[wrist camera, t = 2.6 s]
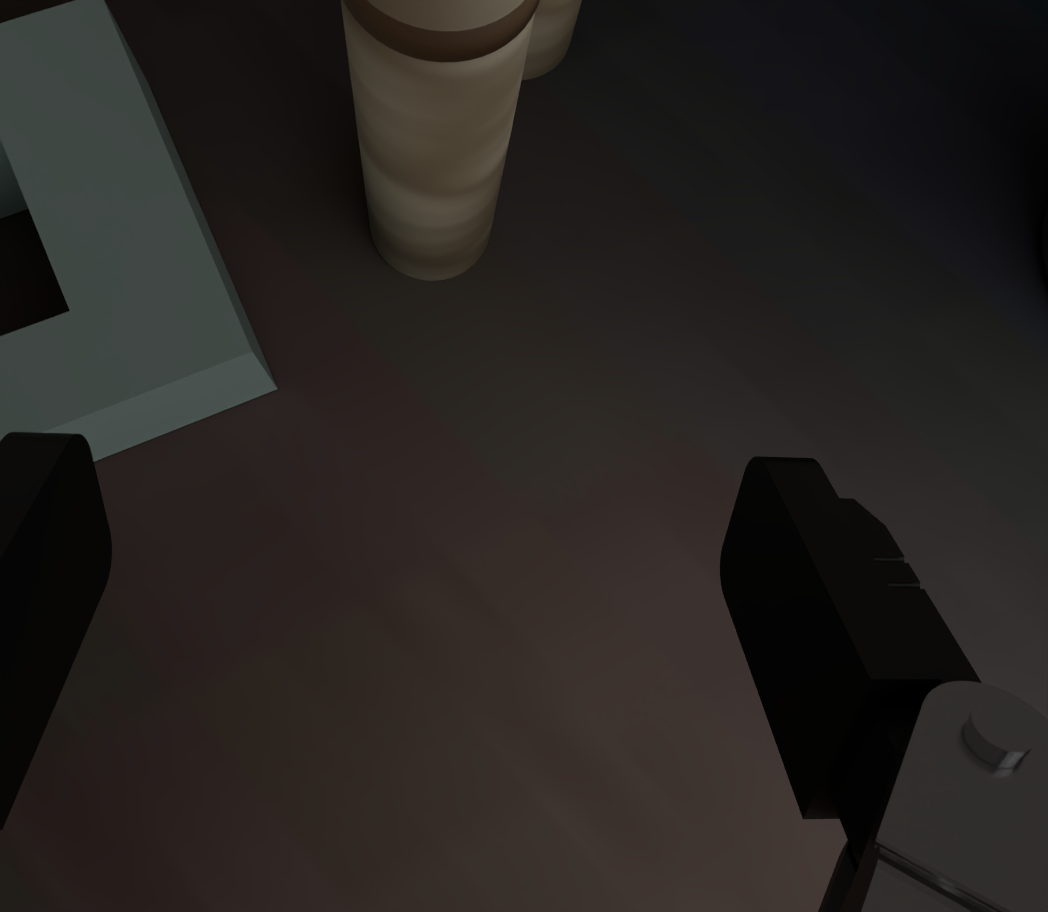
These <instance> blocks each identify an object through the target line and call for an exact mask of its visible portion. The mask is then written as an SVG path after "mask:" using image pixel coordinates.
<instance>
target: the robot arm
mask: <svg viewBox="0 0 1048 912" xmlns="http://www.w3.org/2000/svg"><path fill="white" fill-rule="evenodd" d="M1043 258H1044V263H1045V268H1046V273H1047V278H1048V204H1047V208H1046V213H1045V217H1044V221H1043ZM111 558H112V541H111V534H110V529H109V525H108V520H107V516H106V512H105V508H104V504H103V499H102V495H101V491H100V487H99V482H98V478H97V474H96V470H95V466H94V461H93V457H92V453H91V449H90V446H89V444H88V441H87V440H86V438H85V437H84V436H83V435H81V434H70V433H38V432H10V433H8V434H6V435H5V436H4V437H3V439H2V440H1V441H0V830H2V829H3V827H4V824H5V822H6V820H7V817H8V815H9V813H10V810H11V808H12V806H13V803H14V801H15V799H16V796H17V794H18V791H19V789H20V787H21V784H22V782H23V780H24V777H25V775H26V773H27V770H28V768H29V766H30V763H31V761H32V759H33V756H34V754H35V752H36V749H37V747H38V744H39V742H40V740H41V737H42V735H43V733H44V730H45V728H46V726H47V723H48V721H49V719H50V716H51V714H52V712H53V709H54V707H55V705H56V702H57V700H58V697H59V695H60V693H61V690H62V688H63V686H64V683H65V681H66V679H67V676H68V674H69V672H70V669H71V667H72V665H73V662H74V660H75V658H76V655H77V653H78V650H79V648H80V646H81V643H82V641H83V639H84V636H85V634H86V632H87V629H88V627H89V625H90V622H91V620H92V618H93V615H94V613H95V611H96V608H97V606H98V603H99V601H100V599H101V596H102V594H103V592H104V589H105V587H106V584H107V581H108V578H109V573H110V567H111ZM720 578H721V586H722V591H723V595H724V598H725V601H726V604H727V606H728V609H729V612H730V615H731V618H732V621H733V623H734V626H735V629H736V632H737V635H738V637H739V640H740V643H741V646H742V649H743V651H744V654H745V657H746V660H747V663H748V666H749V668H750V671H751V674H752V677H753V680H754V682H755V685H756V688H757V691H758V694H759V696H760V699H761V702H762V705H763V708H764V711H765V713H766V716H767V719H768V722H769V725H770V727H771V730H772V733H773V736H774V739H775V741H776V744H777V747H778V750H779V753H780V755H781V758H782V761H783V764H784V767H785V770H786V772H787V775H788V778H789V781H790V784H791V786H792V789H793V792H794V795H795V798H796V800H797V803H798V806H799V809H800V812H801V815H802V817H803V819H840V821H841V823H842V826H843V828H844V831H845V833H846V836H847V839H848V840H847V842H846V844H845V846H844V847H843V849H842V851H841V853H840V855H839V858H838V861H837V863H836V866H835V869H834V871H833V874H832V877H831V879H830V882H829V884H828V887H827V890H826V892H825V895H824V898H823V900H822V903H821V906H820V908H819V911H818V912H1048V720H1047V719H1046V718H1045V717H1044V716H1043V715H1042V714H1041V713H1040V712H1038V711H1037V710H1036V709H1035V708H1033V707H1032V706H1031V705H1029V704H1028V703H1026V702H1025V701H1023V700H1021V699H1020V698H1018V697H1016V696H1014V695H1012V694H1010V693H1009V692H1006V691H1004V690H1002V689H999V688H997V687H994V686H990V685H987V684H983V683H982V682H981V681H980V679H979V678H978V676H977V674H976V673H975V671H974V669H973V668H972V666H971V664H970V663H969V661H968V660H967V658H966V656H965V655H964V653H963V651H962V650H961V648H960V647H959V645H958V643H957V642H956V640H955V638H954V637H953V635H952V633H951V632H950V630H949V629H948V627H947V625H946V624H945V622H944V620H943V619H942V617H941V615H940V614H939V612H938V611H937V609H936V607H935V606H934V604H933V602H932V601H931V599H930V598H929V596H928V594H927V593H926V591H925V589H920V581H919V580H918V578H917V576H916V575H915V573H914V571H913V570H912V568H911V567H910V565H909V563H905V562H904V555H903V553H902V552H901V550H900V549H899V547H898V545H897V544H896V542H895V540H894V539H893V537H892V536H891V534H890V532H889V531H888V529H887V527H886V526H885V525H884V524H883V523H882V522H880V521H879V520H878V519H877V518H876V517H874V516H873V515H872V514H871V513H870V512H869V511H867V510H866V509H865V508H864V507H863V506H862V505H860V504H859V503H858V502H857V501H856V500H854V499H844V498H839V497H838V495H837V494H836V492H835V490H834V488H833V487H832V485H831V483H830V481H829V480H828V478H827V476H826V474H825V473H824V471H823V469H822V467H821V466H820V464H819V463H818V462H817V461H816V460H815V459H813V458H787V457H753V458H752V459H751V460H750V461H749V463H748V465H747V467H746V469H745V472H744V475H743V479H742V482H741V485H740V489H739V492H738V496H737V499H736V502H735V506H734V509H733V512H732V516H731V519H730V522H729V526H728V529H727V533H726V536H725V539H724V543H723V546H722V551H721V559H720Z"/></svg>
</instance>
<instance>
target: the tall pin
mask: <svg viewBox="0 0 1048 912" xmlns="http://www.w3.org/2000/svg"><path fill="white" fill-rule="evenodd" d="M539 1H540V0H341V6H342V14H343V22H344V30H345V37H346V45H347V53H348V61H349V68H350V76H351V84H352V92H353V100H354V107H355V115H356V123H357V131H358V138H359V146H360V154H361V162H362V170H363V177H364V185H365V193H366V201H367V209H368V216H369V224H370V231H371V236H372V239H373V242H374V244H375V246H376V248H377V250H378V252H379V253H380V254H381V256H382V257H383V258H384V259H385V261H386V262H387V263H388V264H390V265H391V266H392V267H393V268H394V269H396V270H397V271H399V272H401V273H403V274H405V275H407V276H409V277H412V278H415V279H420V280H427V281H438V280H445V279H449V278H452V277H455V276H457V275H460V274H462V273H463V272H465V271H467V270H468V269H469V268H471V267H472V266H473V265H474V264H475V263H476V262H477V261H478V260H479V259H480V257H481V256H482V254H483V253H484V251H485V249H486V247H487V244H488V241H489V237H490V232H491V227H492V223H493V218H494V213H495V208H496V203H497V198H498V193H499V188H500V183H501V178H502V173H503V168H504V163H505V158H506V153H507V148H508V143H509V139H510V134H511V129H512V124H513V119H514V114H515V109H516V104H517V99H518V94H519V89H520V84H521V79H522V74H523V69H524V64H525V60H526V55H527V50H528V45H529V40H530V35H531V30H532V25H533V20H534V15H535V11H536V9H537V7H538V4H539Z"/></svg>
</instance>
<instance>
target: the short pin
mask: <svg viewBox="0 0 1048 912" xmlns="http://www.w3.org/2000/svg"><path fill="white" fill-rule="evenodd" d="M581 2H582V0H540V1H539V4H538V7H537V9H536V11H535V15H534V20H533V25H532V30H531V35H530V40H529V45H528V50H527V55H526V60H525V64H524V69H523V74H522V79H521V80H527V79H533V78H536V77H539V76H542V75H544V74H546V73H547V72H549V71H551V70H552V69H553V68H555V67H556V66H557V65H558V64H559V63H560V62H561V60H562V59H563V57H564V56H565V54H566V52H567V50H568V47H569V44H570V41H571V37H572V34H573V30H574V27H575V23H576V20H577V16H578V12H579V9H580V5H581Z"/></svg>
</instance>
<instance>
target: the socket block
mask: <svg viewBox="0 0 1048 912" xmlns="http://www.w3.org/2000/svg"><path fill="white" fill-rule="evenodd" d="M27 209H29V211H30V213H31V216H32V218H33V221H34V223H35V226H36V228H37V231H38V233H39V236H40V238H41V241H42V243H43V246H44V248H45V251H46V253H47V256H48V258H49V261H50V263H51V266H52V268H53V270H54V273H55V275H56V278H57V280H58V283H59V285H60V288H61V290H62V293H63V295H64V298H65V300H66V303H67V305H68V308H69V310H70V311H68V312H66V313H63V314H60V315H58V316H55V317H52V318H49V319H47V320H44V321H41V322H38V323H36V324H33V325H30V326H27V327H25V328H22V329H19V330H16V331H14V332H11V333H8V334H5V335H3V336H0V441H1V440H2V439H3V437H4V436H5V435H6V434H8V433H10V432H38V433H70V434H81V435H83V436H84V437H85V438H86V440H87V441H88V444H89V446H90V449H91V453H92V457H93V461H97V460H99V459H102V458H104V457H107V456H109V455H112V454H115V453H117V452H120V451H122V450H125V449H127V448H130V447H132V446H135V445H137V444H140V443H142V442H145V441H147V440H150V439H153V438H155V437H158V436H160V435H163V434H165V433H168V432H170V431H173V430H175V429H178V428H180V427H183V426H185V425H188V424H191V423H193V422H196V421H198V420H201V419H203V418H206V417H208V416H211V415H213V414H216V413H218V412H221V411H223V410H226V409H228V408H231V407H234V406H236V405H239V404H241V403H244V402H246V401H249V400H251V399H254V398H256V397H259V396H261V395H264V394H266V393H269V392H272V391H274V390H277V386H276V384H275V382H274V379H273V377H272V375H271V372H270V370H269V368H268V365H267V363H266V361H265V358H264V356H263V353H262V351H261V349H260V346H259V344H258V342H257V339H256V337H255V335H254V332H253V330H252V327H251V325H250V323H249V320H248V318H247V316H246V313H245V311H244V309H243V306H242V304H241V301H240V299H239V297H238V294H237V292H236V290H235V287H234V285H233V283H232V280H231V278H230V275H229V273H228V271H227V268H226V266H225V264H224V261H223V259H222V257H221V254H220V252H219V249H218V247H217V245H216V242H215V240H214V238H213V235H212V233H211V231H210V228H209V226H208V224H207V221H206V219H205V216H204V214H203V212H202V209H201V207H200V205H199V202H198V200H197V198H196V195H195V193H194V190H193V188H192V186H191V183H190V181H189V179H188V176H187V174H186V172H185V169H184V167H183V164H182V162H181V160H180V157H179V155H178V153H177V150H176V148H175V146H174V143H173V141H172V138H171V136H170V134H169V131H168V129H167V127H166V124H165V122H164V120H163V117H162V115H161V112H160V110H159V108H158V105H157V103H156V101H155V98H154V96H153V94H152V91H151V89H150V87H149V84H148V82H147V80H146V78H145V76H144V74H143V72H142V71H141V69H140V67H139V65H138V63H137V61H136V59H135V57H134V55H133V53H132V52H131V50H130V48H129V46H128V44H127V42H126V40H125V38H124V36H123V34H122V32H121V31H120V29H119V27H118V25H117V23H116V21H115V19H114V17H113V15H112V13H111V12H110V10H109V8H108V6H107V4H106V2H105V0H75V1H72V2H68V3H65V4H62V5H59V6H55V7H52V8H49V9H45V10H42V11H39V12H36V13H32V14H29V15H26V16H23V17H19V18H16V19H13V20H9V21H6V22H3V23H0V218H3V217H6V216H9V215H12V214H15V213H18V212H21V211H24V210H27Z"/></svg>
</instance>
